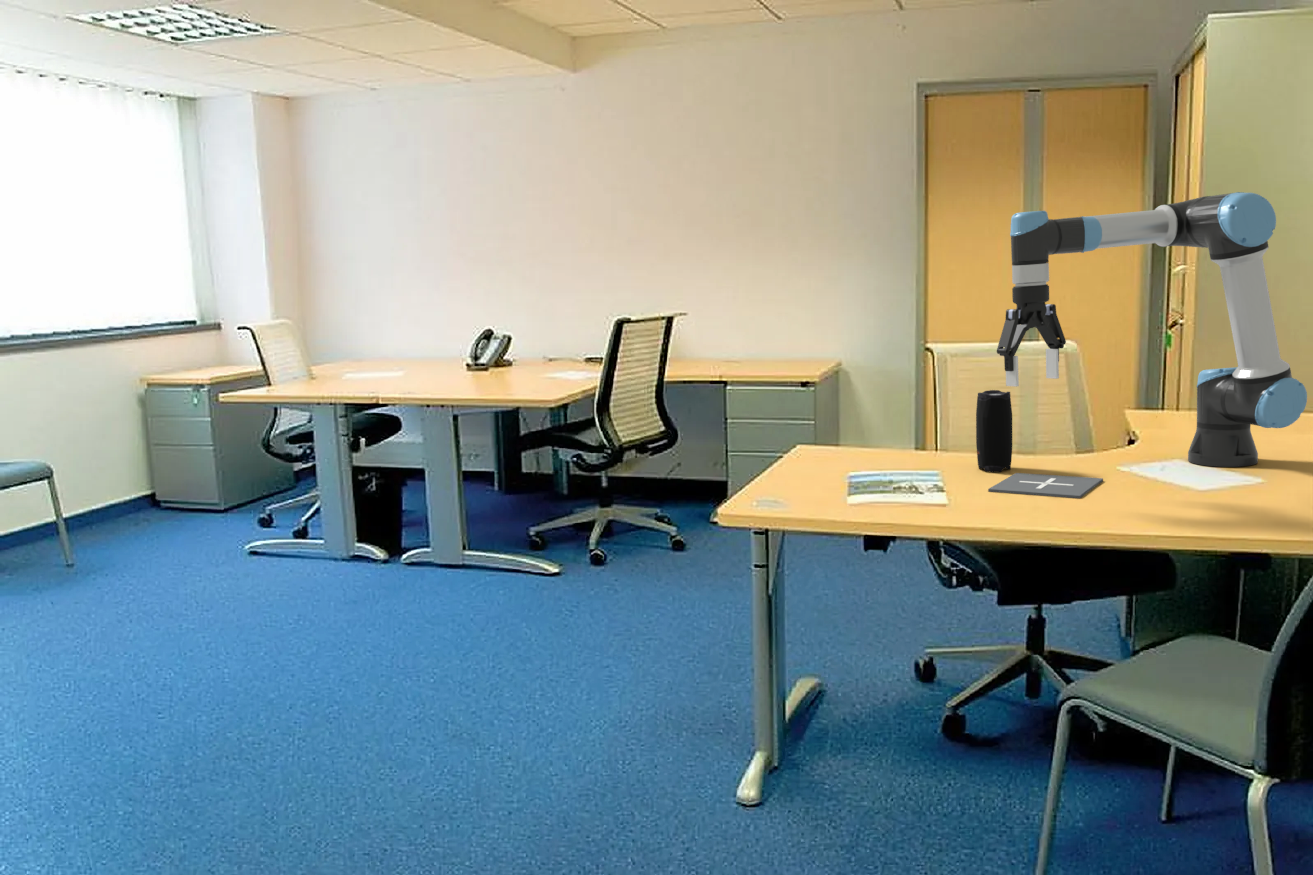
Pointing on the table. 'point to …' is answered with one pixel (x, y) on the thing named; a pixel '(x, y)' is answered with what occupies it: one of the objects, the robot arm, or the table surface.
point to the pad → (1046, 485)
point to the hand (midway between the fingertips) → (1032, 382)
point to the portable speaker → (994, 430)
